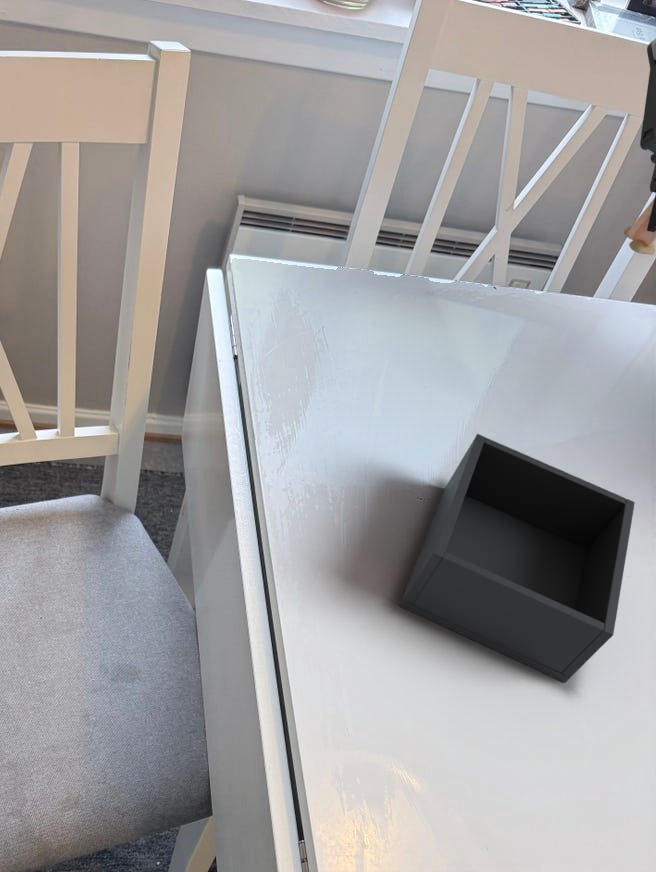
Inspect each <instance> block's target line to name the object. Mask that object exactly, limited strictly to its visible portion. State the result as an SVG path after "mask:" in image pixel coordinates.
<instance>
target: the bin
mask: <svg viewBox="0 0 656 872" xmlns="http://www.w3.org/2000/svg"><path fill="white" fill-rule="evenodd" d="M635 504H636V502H635V501H633V500H631V499H628V498H626V497H624V496H622V495H620V494H618V493H615V492H612V491H610V490H608V489H605V488H603V487H601V486H599V485H596V484H594V483H592V482H589V481H587V480H585V479H583V478H580V477H578V476H575V475H574V474H571V473H569V472H566V471H564V470H562V469H560V468H557V467H555V466H553V465H550V464H548V463H546V462H544V461H541V460H539V459H537V458H534V457H532V456H530V455H528V454H525V453H523V452H520V451H518V450H516V449H513V448H511V447H510V446H506V445H504V444H502V443H500V442H498V441H496V440H493V439H491V438H489V437H486V436H484V435H482V434H480V433H477V434H476V435H475V437H474V439H473V440H472V442H471V443H470V445H469V446H468V449H467V450H466V452H465V454H464V455H463V457H462V459H461V460H460V462H459V464H458V465H457V467H456V469H455V470H454V473H453V474H452V475H451V477H450V479H449V481H448V482H447V484H446V486H445V487H444V490H443V492H442V495H441V497H440V500H439V503H438V505H437V508H436V511H435V513H434V516H433V519H432V521H431V523H430V526H429V528H428V532H427V534H426V537H425V539H424V542H423V543H422V547H421V549H420V552H419V556H418V557H417V560H416V563H415V565H414V568H413V570H412V573H411V576H410V578H409V581H408V583H407V586H406V589H405V591H404V594H403V597H402V599H401V602H400V603H399V607H400V608H403V609H405V610H407V611H409V612H412V613H413V614H416V615H418V616H419V617H420V616H421V617H422V618H425V619H426V620H429V621H431V622H433V623H436V624H437V625H439V626H441V627H444V628H446V629H448V630H450V631H453V632H454V633H457V634H459V635H461V636H463V637H465V638H468V639H470V640H472V641H474V642H476V643H478V644H481V645H483V646H485V647H487V648H489V649H491V650H493V651H495V652H498V653H500V654H502V655H504V656H506V657H509V658H510V659H512V660H514V661H517V662H519V663H522V664H524V665H526V666H528V667H529V668H532V669H535V670H536V671H539V672H541V673H543V674H545V675H547V676H549V677H552V678H554V679H556V680H558V681H560V682H563V683H567V682H568V681H569V680H570V679H571V678H572V677H573V676H574V675H575V674H576V673H577V672H578V671H579V670H580V669H581V668H582V667H583V666H584V665H585V664H586V663H587V662H588V661H589V660H590V659H591V658H592V657H593V656H594V655H595V654H596V653H597V652H598V651H599V650H600V649H601V648H602V647H603V646H604V645H606V643H607V642H608V641H609V640H610V639H611V638H612V637H613V636H614V633H615V628H616V622H617V621H616V620H617V616H618V609H619V603H620V602H619V601H620V596H621V591H622V584H623V577H624V572H625V566H626V559H627V553H628V546H629V540H630V534H631V529H632V521H633V516H634V509H635Z"/></svg>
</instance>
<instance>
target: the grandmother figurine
mask: <svg viewBox="0 0 656 872" xmlns="http://www.w3.org/2000/svg"><path fill="white" fill-rule="evenodd" d="M654 199H655V197H654V198H653V199H652V200H651V201H650V203H649V204H648V205H647V207H645V209H644V211H642V213H641V214H640V215H639V217H638V218H637V220H636V221H635V222H634V223H633V224H632V226H629V227H626V229H624V231H623V235H624V236H625V238H628V239H630V240H631V241H630V242H629V243H628V246H629V248H630V249H631V251H633V252H635V253H638V254H640V255H650V256H652V255H655V251H656V246H655V244H656V231H655V232H650V231H647V227H648V223H649V219H650V215H651V211H652V207H653V203H654Z"/></svg>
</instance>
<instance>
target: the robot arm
mask: <svg viewBox="0 0 656 872" xmlns="http://www.w3.org/2000/svg"><path fill="white" fill-rule="evenodd" d="M646 54H647V60H648V64H649V75H648V82H647V90H646V96H645V97H646V98H645V104H644V110H643V119H642V126H641V134H640V141H639V146H640V148H641V149H642V151H643V150H644V151H648V150H649V151H650V152H651V153H653V154H651V155H650V161H651V163H653V165H654V166H653V171H652V176H651V179H650V183H649V192H650V193H654V194H655V195H654V198H655V199H654V198H653V199H654V203H653V207H652V211H651V215H650V219H649V223H648V227H647V231H650V232H655V231H656V38H654V39H653V40H652V41H651V42H649V44H647V47H646Z"/></svg>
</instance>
